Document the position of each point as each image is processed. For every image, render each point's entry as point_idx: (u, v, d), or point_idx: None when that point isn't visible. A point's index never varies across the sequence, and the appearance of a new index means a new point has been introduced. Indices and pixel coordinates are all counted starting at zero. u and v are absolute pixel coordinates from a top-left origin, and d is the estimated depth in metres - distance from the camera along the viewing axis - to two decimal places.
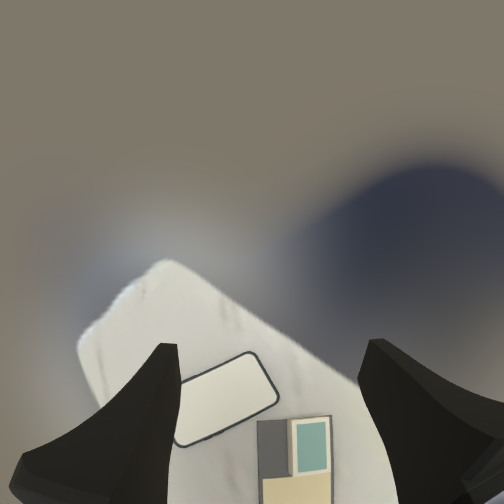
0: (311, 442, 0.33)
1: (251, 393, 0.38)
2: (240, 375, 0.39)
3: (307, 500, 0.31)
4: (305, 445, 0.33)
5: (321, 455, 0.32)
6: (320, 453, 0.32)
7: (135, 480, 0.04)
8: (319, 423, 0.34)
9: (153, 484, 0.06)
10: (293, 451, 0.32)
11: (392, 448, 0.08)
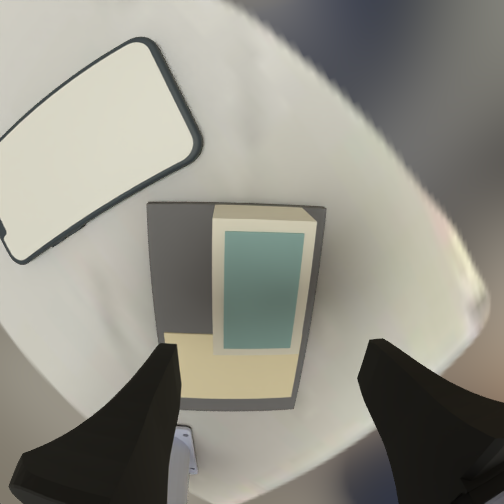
0: (260, 282, 0.15)
1: (133, 135, 0.15)
2: (111, 93, 0.14)
3: (250, 378, 0.22)
4: (244, 289, 0.16)
5: (282, 316, 0.16)
6: (279, 312, 0.16)
7: (135, 480, 0.04)
8: (287, 234, 0.15)
9: (153, 484, 0.06)
10: (214, 299, 0.16)
11: (392, 448, 0.08)
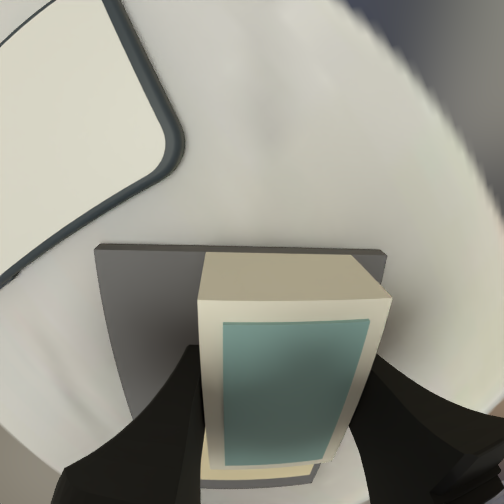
0: (285, 396, 0.08)
1: (66, 133, 0.08)
2: (37, 68, 0.07)
3: None
4: (258, 406, 0.08)
5: (315, 429, 0.09)
6: (312, 425, 0.09)
7: (185, 486, 0.05)
8: (340, 323, 0.08)
9: (194, 488, 0.06)
10: (208, 416, 0.09)
11: (365, 454, 0.08)
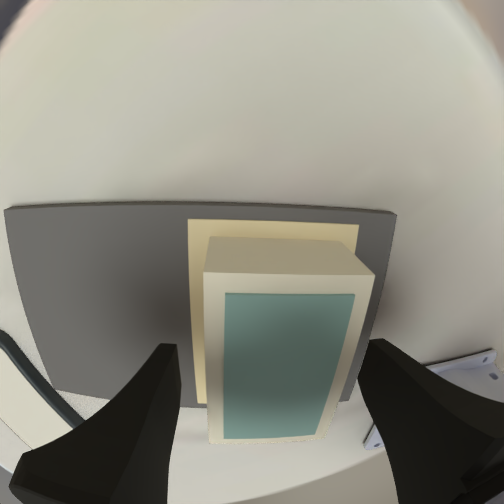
0: (280, 365, 0.09)
1: (6, 385, 0.13)
2: None
3: None
4: (255, 375, 0.09)
5: (308, 402, 0.10)
6: (304, 398, 0.10)
7: (135, 480, 0.04)
8: (328, 297, 0.09)
9: (153, 484, 0.06)
10: (209, 386, 0.10)
11: (392, 448, 0.08)
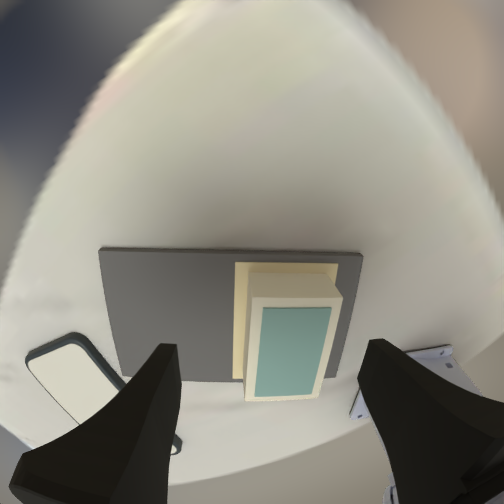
0: (290, 347, 0.17)
1: (77, 375, 0.21)
2: (58, 383, 0.21)
3: None
4: (276, 352, 0.17)
5: (307, 371, 0.18)
6: (304, 368, 0.18)
7: (135, 480, 0.04)
8: (317, 309, 0.16)
9: (153, 484, 0.06)
10: (249, 360, 0.17)
11: (392, 448, 0.08)
